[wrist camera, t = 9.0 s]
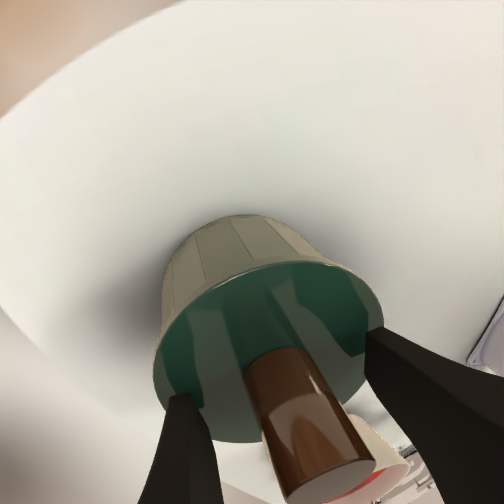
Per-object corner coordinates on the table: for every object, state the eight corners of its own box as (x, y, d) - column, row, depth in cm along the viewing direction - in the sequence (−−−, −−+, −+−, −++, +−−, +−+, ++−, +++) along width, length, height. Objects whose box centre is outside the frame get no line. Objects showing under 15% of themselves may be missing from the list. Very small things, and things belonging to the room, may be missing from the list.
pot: (338, 244, 16) (404, 296, 11) (276, 360, 17) (311, 432, 13) (194, 190, 13) (210, 232, 8) (145, 334, 15) (143, 418, 10)
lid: (402, 282, 11) (505, 366, 6) (307, 426, 13) (354, 519, 8) (199, 208, 8) (246, 336, 3) (132, 408, 10) (137, 540, 5)
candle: (289, 477, 24) (312, 530, 18) (252, 440, 20) (278, 513, 14) (376, 433, 24) (409, 481, 19) (366, 384, 20) (411, 446, 15)
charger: (427, 426, 28) (430, 458, 35) (359, 471, 28) (379, 491, 35) (448, 453, 24) (445, 478, 30) (377, 501, 24) (392, 513, 30)
